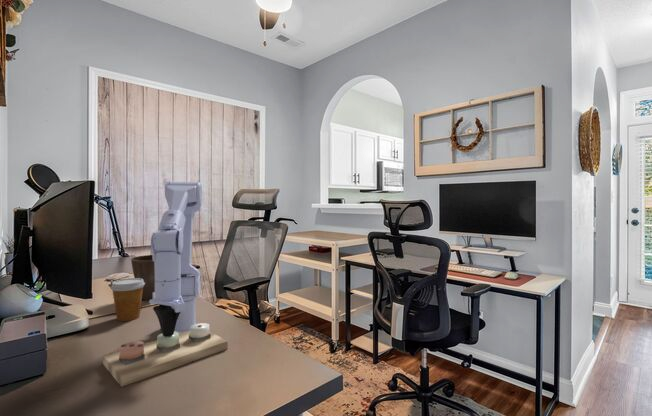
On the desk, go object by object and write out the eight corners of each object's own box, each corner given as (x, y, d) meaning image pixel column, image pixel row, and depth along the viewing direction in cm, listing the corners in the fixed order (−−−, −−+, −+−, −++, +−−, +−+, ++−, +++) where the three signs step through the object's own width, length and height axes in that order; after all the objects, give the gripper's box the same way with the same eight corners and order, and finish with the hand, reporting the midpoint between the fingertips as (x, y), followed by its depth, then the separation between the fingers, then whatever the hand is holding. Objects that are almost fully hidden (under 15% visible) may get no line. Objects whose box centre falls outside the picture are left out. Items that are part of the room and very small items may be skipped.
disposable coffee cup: (138, 311, 114) (137, 276, 114) (150, 317, 108) (149, 280, 108) (106, 318, 107) (106, 281, 107) (117, 325, 101) (117, 286, 101)
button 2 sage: (154, 343, 81) (154, 334, 81) (174, 337, 84) (174, 329, 84) (161, 349, 77) (161, 340, 77) (182, 343, 81) (182, 334, 81)
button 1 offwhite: (186, 334, 86) (186, 326, 86) (204, 329, 90) (204, 321, 90) (195, 339, 83) (195, 330, 83) (212, 333, 87) (212, 325, 87)
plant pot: (168, 290, 140) (168, 253, 140) (179, 298, 129) (178, 257, 129) (128, 297, 131) (127, 256, 131) (135, 306, 119) (135, 262, 119)
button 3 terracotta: (116, 354, 75) (116, 345, 75) (139, 347, 78) (139, 338, 78) (123, 361, 71) (123, 351, 71) (147, 354, 75) (147, 344, 75)
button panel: (102, 364, 77) (102, 351, 77) (201, 333, 94) (201, 323, 94) (121, 387, 67) (121, 372, 67) (227, 348, 85) (227, 337, 85)
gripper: (139, 277, 82) (139, 331, 83) (162, 287, 73) (162, 349, 73) (168, 273, 88) (168, 324, 88) (193, 281, 78) (194, 339, 78)
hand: (168, 334), depth 81 cm, fingers closed, pressing on button 2 sage
